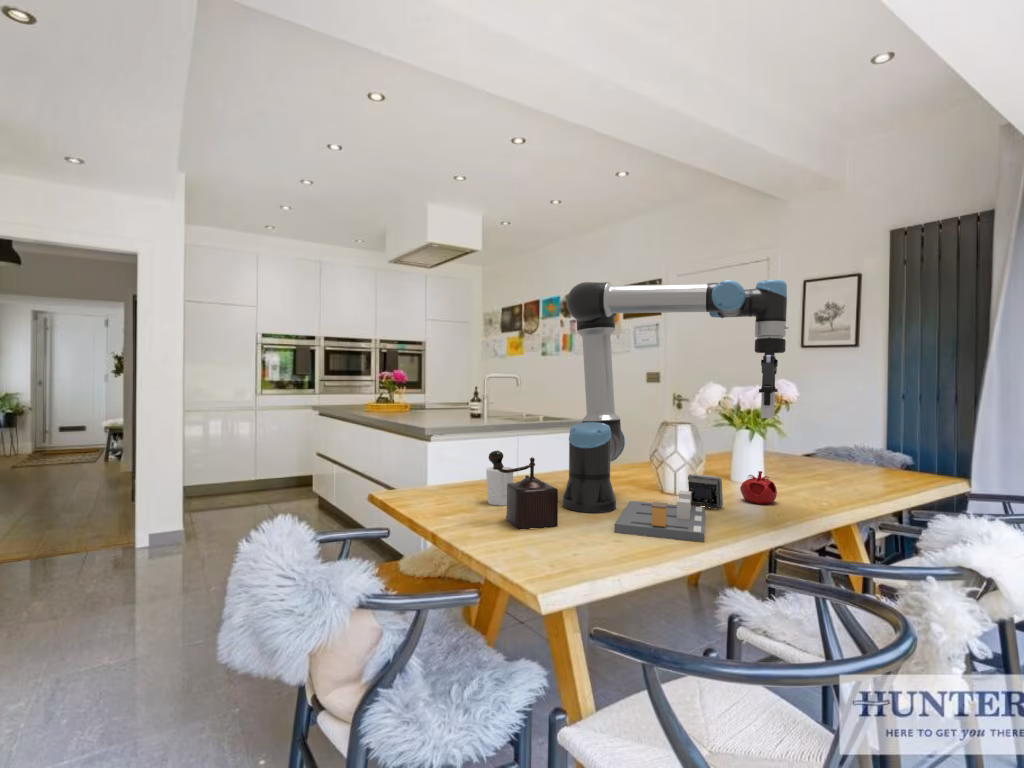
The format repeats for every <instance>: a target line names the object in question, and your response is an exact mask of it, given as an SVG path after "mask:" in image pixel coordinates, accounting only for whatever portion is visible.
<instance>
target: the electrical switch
mask: <svg viewBox="0 0 1024 768" xmlns="http://www.w3.org/2000/svg"><path fill="white" fill-rule="evenodd" d="M687 480H688V482H687V483H688V491H690V492H691V505H694V507H697V506H705V507H710V508H709V509H711V508H717V509H716V510H718V508H722V507H723V506H724V501H723V500H724V499H723V496H724V494H723V481H722V480H723V479H722V477H721V476H714V475H706V474H695V473H689V474H688V475H687ZM701 504H702V505H701ZM707 505H708V506H707Z"/></svg>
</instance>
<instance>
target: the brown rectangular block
mask: <svg viewBox="0 0 1024 768" xmlns="http://www.w3.org/2000/svg"><path fill="white" fill-rule="evenodd" d="M652 503H653V504H652V525H653V526H662V527H665V526H666V523H667V504H668V502H658V501H653V502H652Z"/></svg>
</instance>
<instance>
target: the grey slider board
mask: <svg viewBox="0 0 1024 768" xmlns="http://www.w3.org/2000/svg"><path fill="white" fill-rule="evenodd" d="M652 504H653V502H648V501H636V500H629V502H628V503H627V505H626V506H625V507H624V508H623V511H622V512H621V514H620V515H619V516H618V518H617V520H616V521H615V523H614V533H616V534H617V533H618V534H625V535H627V534H628V535H634V534H635V536H636V535H637V536H643V535H646V536H645V537H652V536H654V537H655V538H661V537H664V538H663V539H670V538H672V539H673V540H679V539H680V540H681V541H688V540H690V542H698V541H700V542H699V543H704V542H705V521H706V520H705V519H706V508H705V507H697V506H691V492H690V491H689V490H688V491H687V490H679V492H678V498H677V500H676V504H669V503H667V523H666V526H665V527H662V526H653V525H652Z"/></svg>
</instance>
